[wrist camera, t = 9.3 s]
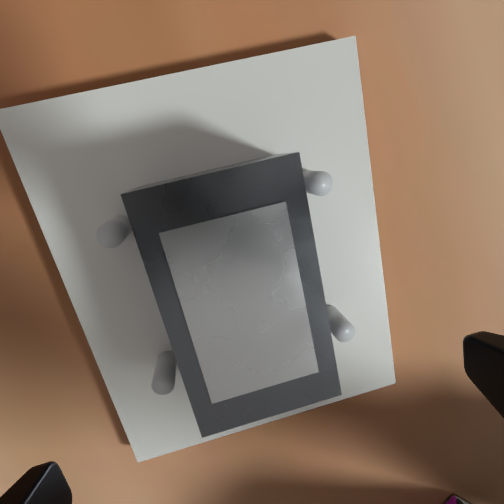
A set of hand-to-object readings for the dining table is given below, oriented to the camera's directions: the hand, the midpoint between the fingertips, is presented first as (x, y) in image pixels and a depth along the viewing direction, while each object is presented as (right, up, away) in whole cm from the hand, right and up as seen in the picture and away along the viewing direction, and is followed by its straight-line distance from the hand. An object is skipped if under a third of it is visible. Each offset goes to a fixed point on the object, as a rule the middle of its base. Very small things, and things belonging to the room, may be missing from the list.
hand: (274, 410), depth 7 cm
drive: (-1, +2, +9) cm, 9 cm away
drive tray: (-1, +3, +10) cm, 10 cm away
